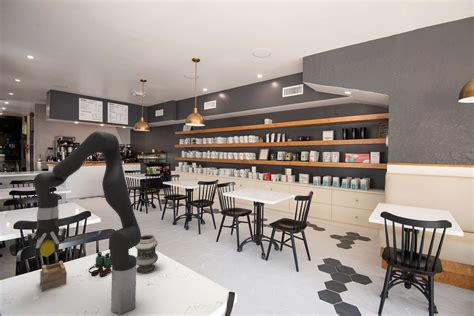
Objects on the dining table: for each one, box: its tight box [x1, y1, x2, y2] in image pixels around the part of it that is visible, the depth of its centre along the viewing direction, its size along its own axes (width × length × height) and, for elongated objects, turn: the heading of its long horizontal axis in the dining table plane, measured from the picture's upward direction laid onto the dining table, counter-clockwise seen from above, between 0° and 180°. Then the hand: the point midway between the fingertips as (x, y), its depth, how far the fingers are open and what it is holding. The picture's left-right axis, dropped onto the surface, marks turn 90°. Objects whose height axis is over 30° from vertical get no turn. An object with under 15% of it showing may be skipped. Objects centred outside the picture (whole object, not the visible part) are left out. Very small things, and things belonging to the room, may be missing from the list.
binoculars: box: [88, 251, 112, 278], centre depth 121 cm, size 9×11×10 cm
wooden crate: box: [39, 260, 68, 293], centre depth 111 cm, size 9×9×8 cm
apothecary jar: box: [134, 234, 159, 274], centre depth 128 cm, size 12×12×18 cm
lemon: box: [39, 239, 55, 258], centre depth 104 cm, size 6×6×8 cm
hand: (47, 253), depth 104 cm, fingers closed on lemon, 5 cm apart
